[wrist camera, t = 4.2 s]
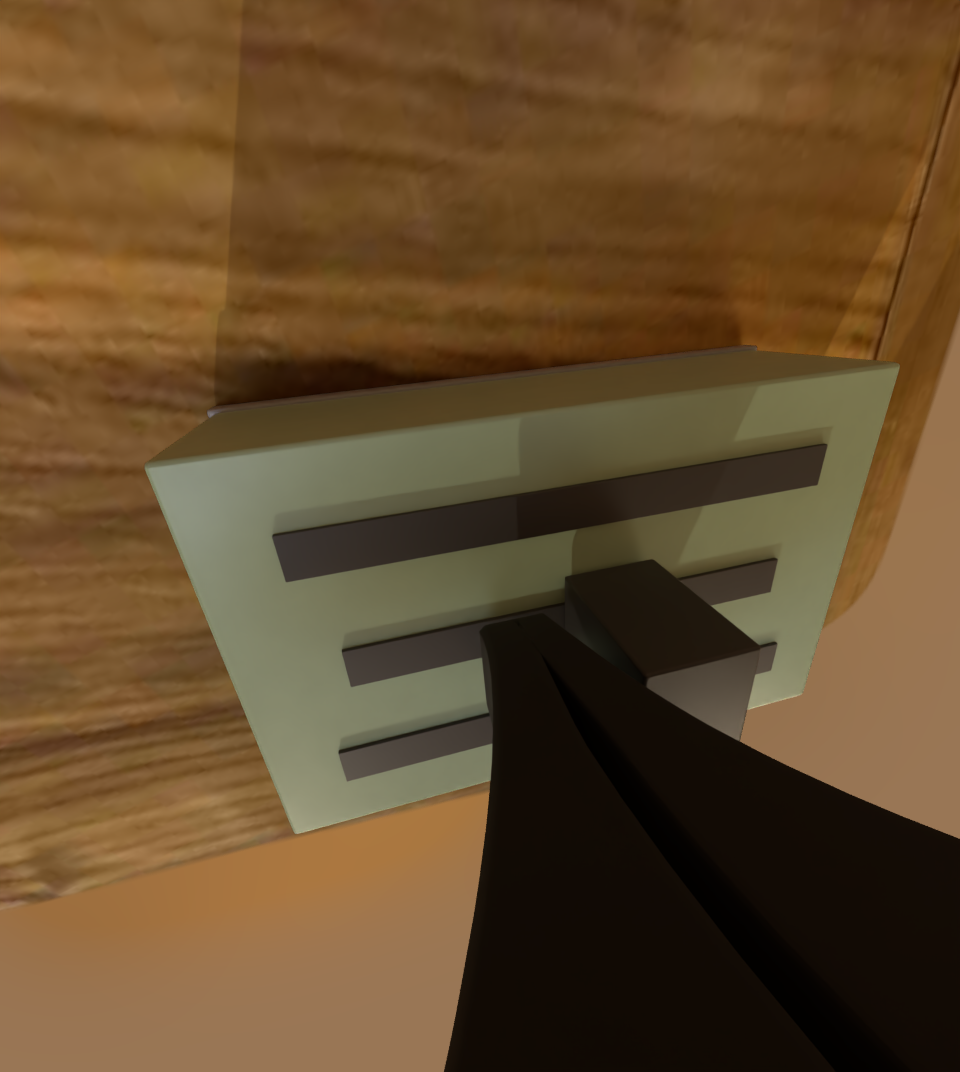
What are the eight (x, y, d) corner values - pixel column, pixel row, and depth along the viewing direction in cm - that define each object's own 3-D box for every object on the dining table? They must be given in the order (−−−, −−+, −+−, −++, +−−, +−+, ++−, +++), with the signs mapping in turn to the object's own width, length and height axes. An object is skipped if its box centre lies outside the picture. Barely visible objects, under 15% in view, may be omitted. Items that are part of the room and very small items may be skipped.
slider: (644, 648, 11) (738, 754, 8) (563, 667, 10) (634, 785, 8) (653, 557, 10) (764, 646, 7) (563, 575, 9) (644, 676, 7)
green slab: (703, 610, 17) (809, 700, 13) (307, 701, 15) (289, 845, 11) (744, 344, 13) (915, 356, 9) (211, 406, 11) (126, 459, 7)
